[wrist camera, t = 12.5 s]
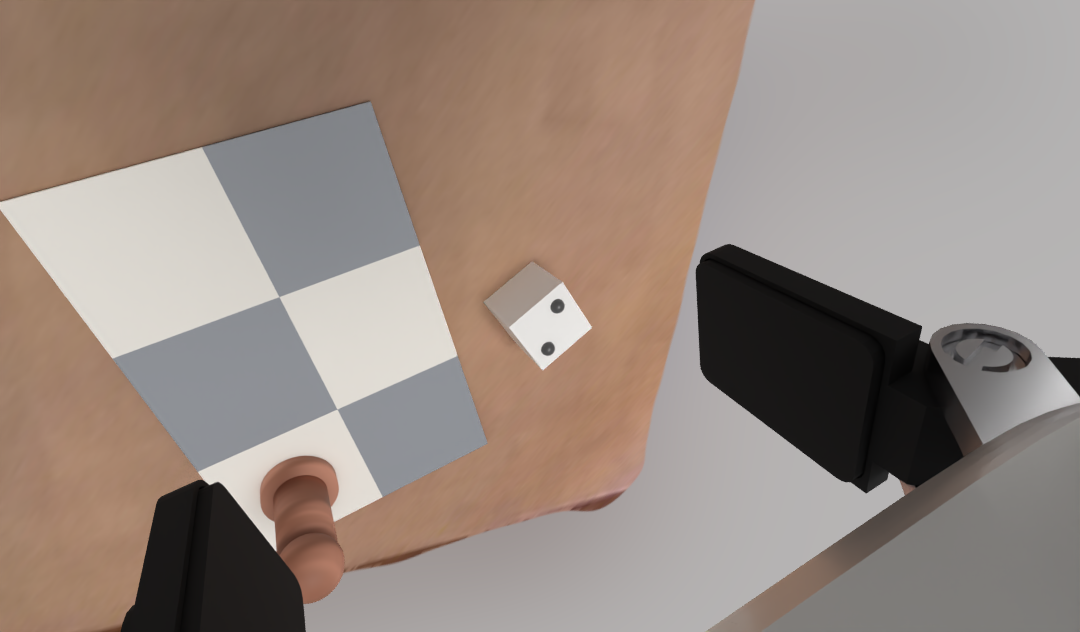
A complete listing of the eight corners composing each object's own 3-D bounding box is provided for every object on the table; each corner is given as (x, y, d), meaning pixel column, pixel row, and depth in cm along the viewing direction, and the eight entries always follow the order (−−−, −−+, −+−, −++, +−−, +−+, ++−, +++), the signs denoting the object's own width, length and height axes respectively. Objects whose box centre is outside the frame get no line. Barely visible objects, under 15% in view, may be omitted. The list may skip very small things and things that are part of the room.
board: (369, 101, 32) (370, 101, 32) (485, 440, 47) (487, 443, 46) (-2, 202, 26) (-5, 203, 26) (262, 554, 41) (262, 558, 40)
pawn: (320, 444, 39) (340, 543, 31) (347, 491, 42) (371, 594, 34) (246, 478, 37) (247, 591, 29) (279, 525, 40) (288, 641, 32)
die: (531, 260, 42) (566, 284, 37) (560, 303, 45) (595, 330, 40) (482, 301, 41) (512, 330, 37) (515, 342, 44) (546, 373, 40)
